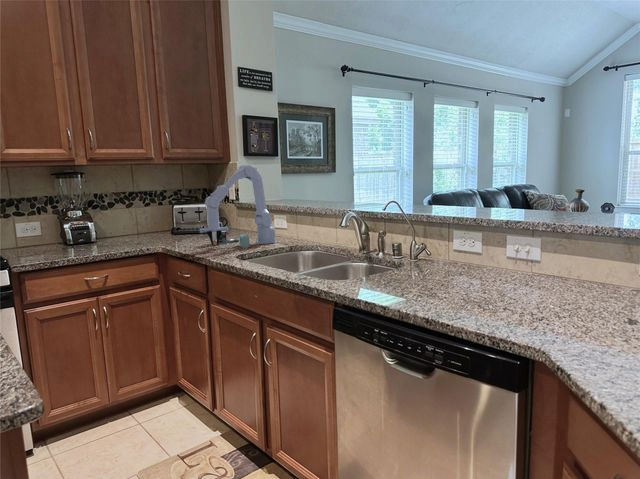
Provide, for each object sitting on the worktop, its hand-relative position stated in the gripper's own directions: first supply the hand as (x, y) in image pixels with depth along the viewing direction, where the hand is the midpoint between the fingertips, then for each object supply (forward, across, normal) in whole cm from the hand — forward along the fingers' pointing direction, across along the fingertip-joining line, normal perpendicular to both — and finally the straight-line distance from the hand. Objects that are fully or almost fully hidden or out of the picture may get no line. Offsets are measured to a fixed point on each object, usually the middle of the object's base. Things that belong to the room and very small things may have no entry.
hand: (215, 245), depth 241 cm
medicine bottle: (+2, -2, -17) cm, 17 cm away
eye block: (+2, -16, -3) cm, 16 cm away
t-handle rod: (0, -6, -3) cm, 7 cm away
